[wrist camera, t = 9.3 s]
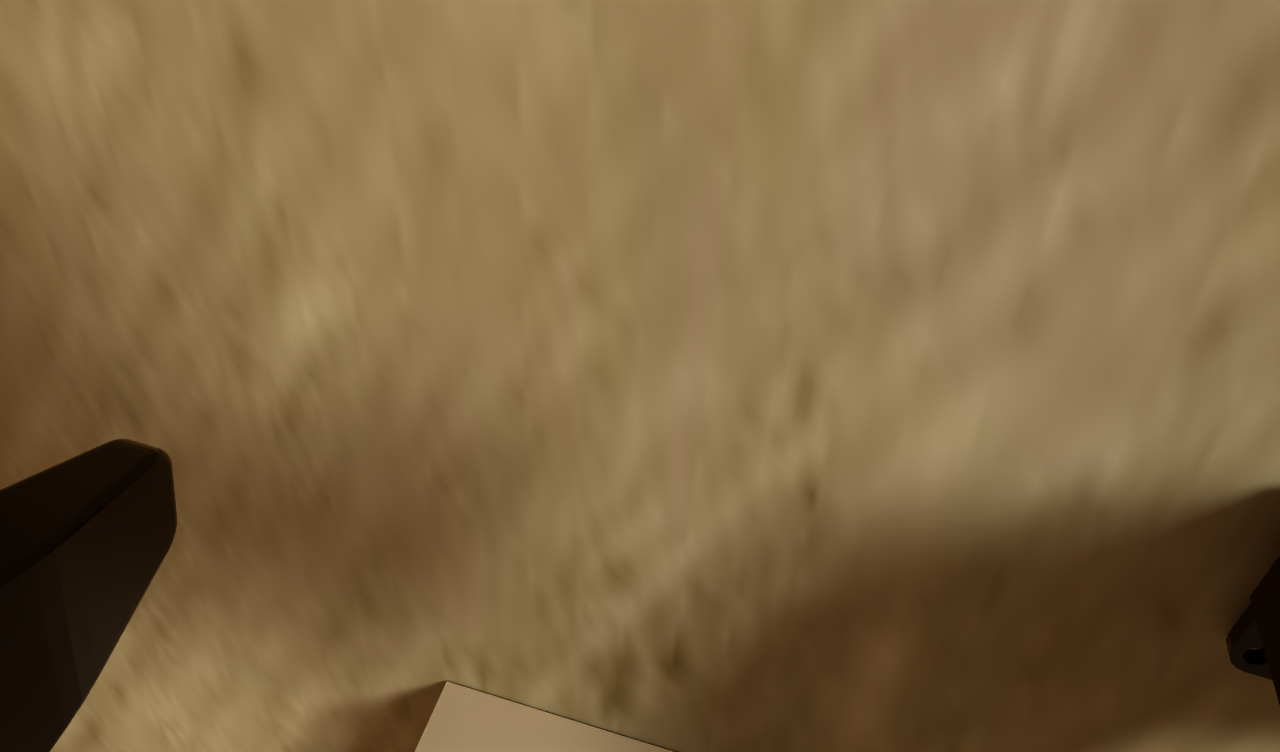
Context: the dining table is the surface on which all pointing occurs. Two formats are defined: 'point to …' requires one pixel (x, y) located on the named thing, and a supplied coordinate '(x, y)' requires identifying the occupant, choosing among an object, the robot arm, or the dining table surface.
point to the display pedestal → (511, 728)
